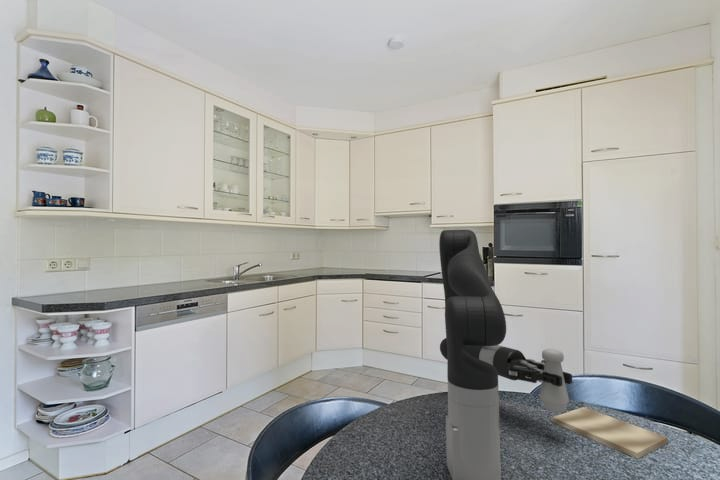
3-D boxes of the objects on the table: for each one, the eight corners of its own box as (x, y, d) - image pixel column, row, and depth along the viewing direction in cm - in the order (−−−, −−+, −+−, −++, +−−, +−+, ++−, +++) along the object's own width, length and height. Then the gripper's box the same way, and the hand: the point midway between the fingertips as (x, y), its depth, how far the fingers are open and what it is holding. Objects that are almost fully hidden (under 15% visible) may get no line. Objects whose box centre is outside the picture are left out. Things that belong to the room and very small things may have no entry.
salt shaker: (573, 415, 75) (571, 353, 75) (544, 412, 76) (542, 352, 77) (563, 404, 80) (561, 347, 81) (536, 402, 81) (535, 346, 82)
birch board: (552, 422, 86) (552, 417, 86) (583, 411, 92) (583, 406, 92) (637, 459, 70) (637, 452, 70) (668, 443, 76) (667, 437, 76)
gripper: (482, 349, 88) (545, 367, 73) (519, 343, 95) (584, 359, 79) (482, 379, 88) (546, 403, 72) (519, 371, 94) (585, 392, 79)
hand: (566, 380), depth 76 cm, fingers closed on salt shaker, 3 cm apart
